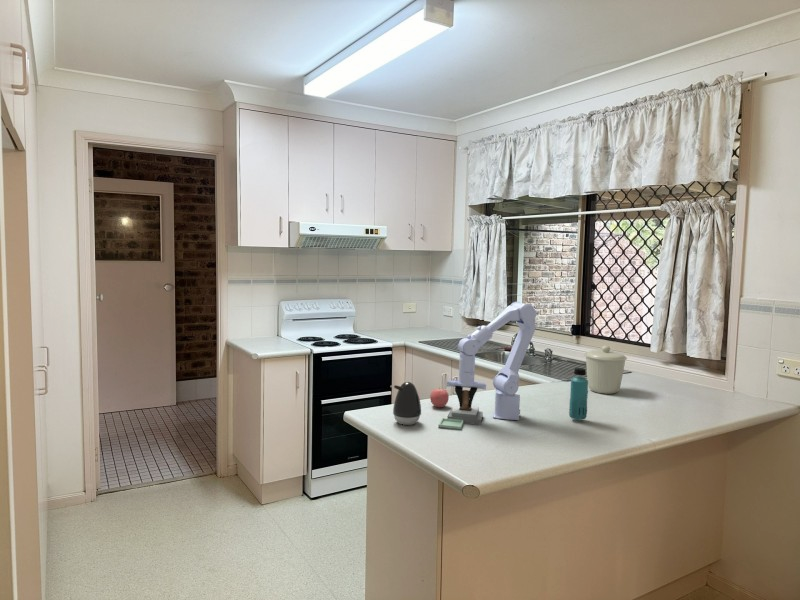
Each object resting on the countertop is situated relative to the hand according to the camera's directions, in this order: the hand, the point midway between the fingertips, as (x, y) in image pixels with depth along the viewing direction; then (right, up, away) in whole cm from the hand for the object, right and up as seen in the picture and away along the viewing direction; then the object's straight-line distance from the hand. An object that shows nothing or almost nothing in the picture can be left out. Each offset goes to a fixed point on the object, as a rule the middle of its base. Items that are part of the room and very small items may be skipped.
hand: (465, 406), depth 209 cm
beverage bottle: (+42, -6, +2) cm, 43 cm away
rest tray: (-6, -5, -7) cm, 11 cm away
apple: (-9, -3, +16) cm, 18 cm away
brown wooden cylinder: (0, -3, 0) cm, 3 cm away
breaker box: (0, -5, 0) cm, 5 cm away
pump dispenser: (-22, -5, -6) cm, 23 cm away
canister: (+69, -2, +47) cm, 83 cm away
